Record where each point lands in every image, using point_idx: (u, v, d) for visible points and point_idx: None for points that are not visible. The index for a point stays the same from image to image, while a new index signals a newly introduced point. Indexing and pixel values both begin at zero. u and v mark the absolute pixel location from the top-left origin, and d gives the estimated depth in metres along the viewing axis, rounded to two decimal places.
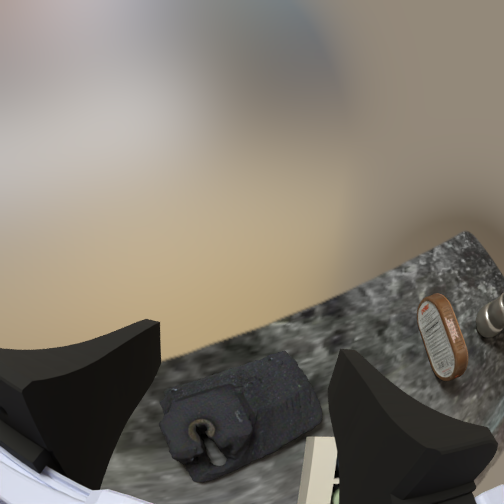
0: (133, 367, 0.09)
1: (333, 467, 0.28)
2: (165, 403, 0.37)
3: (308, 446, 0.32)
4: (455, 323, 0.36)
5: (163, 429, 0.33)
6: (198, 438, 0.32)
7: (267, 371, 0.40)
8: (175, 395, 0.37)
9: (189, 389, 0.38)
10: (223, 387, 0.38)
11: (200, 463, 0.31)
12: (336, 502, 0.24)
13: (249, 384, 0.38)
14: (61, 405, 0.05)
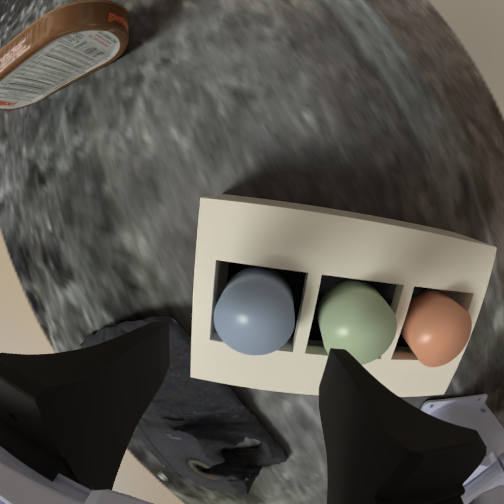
0: (143, 370, 0.09)
1: None
2: None
3: None
4: (8, 48, 0.11)
5: (213, 490, 0.24)
6: (214, 475, 0.22)
7: None
8: (170, 468, 0.26)
9: (158, 456, 0.26)
10: (143, 431, 0.24)
11: (256, 461, 0.24)
12: None
13: None
14: (74, 411, 0.05)
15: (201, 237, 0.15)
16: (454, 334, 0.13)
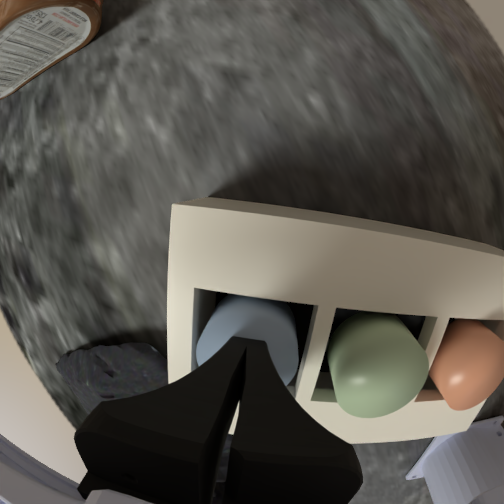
0: (234, 390, 0.09)
1: None
2: None
3: None
4: None
5: None
6: None
7: (86, 405, 0.19)
8: None
9: None
10: None
11: None
12: None
13: None
14: (210, 455, 0.05)
15: (174, 257, 0.11)
16: (490, 372, 0.09)
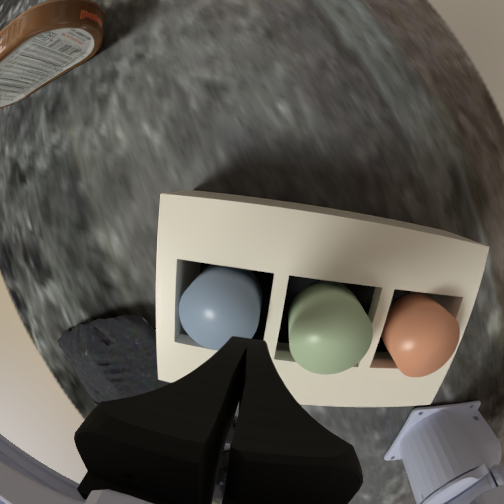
0: (235, 390, 0.09)
1: None
2: None
3: None
4: None
5: None
6: None
7: (83, 378, 0.22)
8: None
9: None
10: None
11: None
12: None
13: None
14: (210, 455, 0.05)
15: (162, 235, 0.14)
16: (439, 342, 0.13)
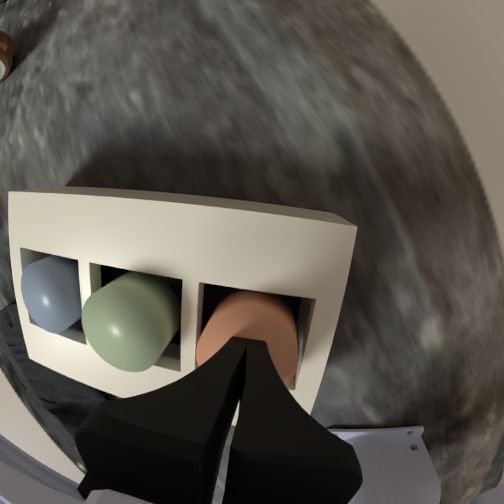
0: (234, 390, 0.09)
1: (65, 341, 0.14)
2: None
3: None
4: None
5: None
6: None
7: (9, 360, 0.21)
8: (71, 454, 0.23)
9: (60, 440, 0.23)
10: (40, 412, 0.22)
11: None
12: None
13: None
14: (210, 455, 0.05)
15: (10, 226, 0.12)
16: None
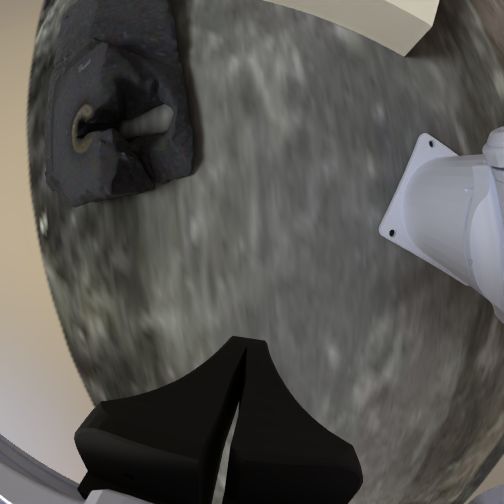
0: (234, 390, 0.09)
1: None
2: (63, 191, 0.22)
3: None
4: None
5: (75, 199, 0.19)
6: (90, 135, 0.16)
7: (65, 33, 0.17)
8: (49, 170, 0.20)
9: (47, 146, 0.20)
10: (55, 92, 0.18)
11: (151, 148, 0.19)
12: None
13: (65, 55, 0.17)
14: (210, 455, 0.05)
15: None
16: None
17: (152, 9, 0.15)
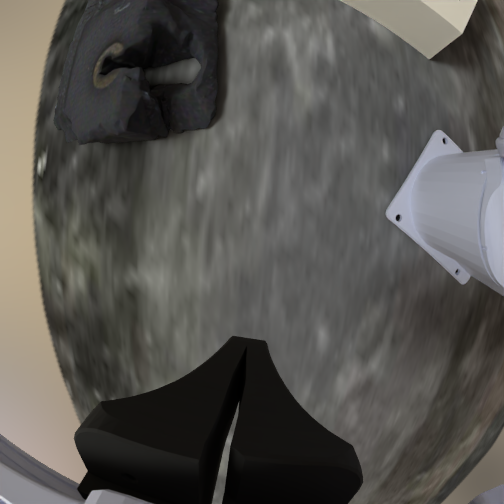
0: (235, 390, 0.09)
1: None
2: (69, 131, 0.20)
3: None
4: None
5: (83, 134, 0.17)
6: (115, 71, 0.15)
7: None
8: (60, 107, 0.18)
9: (63, 83, 0.18)
10: (83, 32, 0.16)
11: (173, 95, 0.17)
12: None
13: None
14: (210, 455, 0.05)
15: None
16: None
17: None
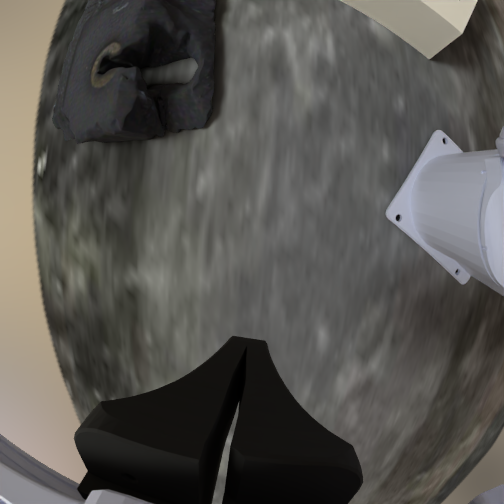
0: (235, 390, 0.09)
1: None
2: (67, 130, 0.20)
3: None
4: None
5: (81, 133, 0.17)
6: (112, 70, 0.15)
7: None
8: (58, 105, 0.18)
9: (62, 82, 0.18)
10: (82, 32, 0.16)
11: (169, 95, 0.17)
12: None
13: None
14: (210, 455, 0.05)
15: None
16: None
17: None
